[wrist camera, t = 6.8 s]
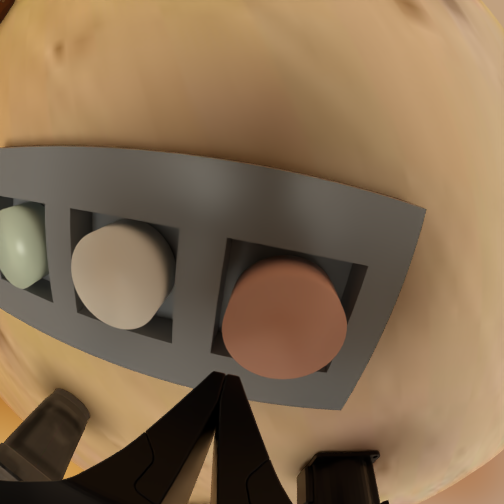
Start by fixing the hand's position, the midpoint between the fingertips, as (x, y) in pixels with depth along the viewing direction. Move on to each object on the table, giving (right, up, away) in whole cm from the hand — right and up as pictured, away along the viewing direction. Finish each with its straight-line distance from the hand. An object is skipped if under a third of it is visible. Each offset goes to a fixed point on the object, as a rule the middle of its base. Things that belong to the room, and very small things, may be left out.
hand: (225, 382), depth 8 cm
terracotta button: (+2, +2, +5) cm, 6 cm away
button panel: (-5, +4, +6) cm, 9 cm away
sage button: (-13, +5, +6) cm, 15 cm away
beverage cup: (-17, -11, +13) cm, 24 cm away
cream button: (-5, +3, +6) cm, 9 cm away
